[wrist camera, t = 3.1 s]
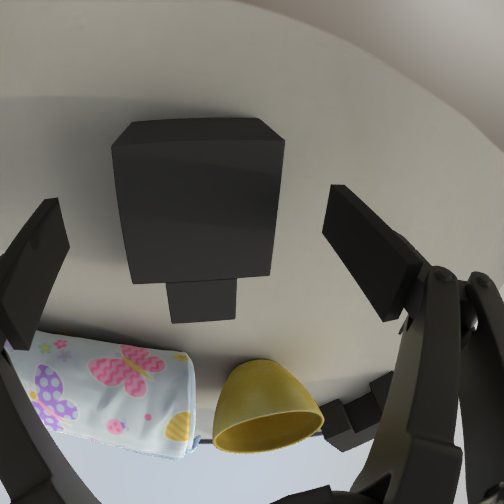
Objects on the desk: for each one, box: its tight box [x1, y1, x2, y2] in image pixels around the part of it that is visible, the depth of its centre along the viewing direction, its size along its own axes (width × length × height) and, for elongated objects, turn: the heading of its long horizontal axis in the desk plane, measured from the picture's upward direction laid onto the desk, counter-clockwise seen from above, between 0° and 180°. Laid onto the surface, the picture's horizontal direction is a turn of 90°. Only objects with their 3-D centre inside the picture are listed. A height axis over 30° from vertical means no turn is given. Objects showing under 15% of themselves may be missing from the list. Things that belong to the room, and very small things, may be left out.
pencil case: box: [4, 330, 201, 460], centre depth 20 cm, size 21×9×10 cm, turn 75°
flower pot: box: [213, 359, 324, 453], centre depth 27 cm, size 10×10×7 cm
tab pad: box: [111, 118, 285, 324], centre depth 16 cm, size 7×10×5 cm
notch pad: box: [319, 371, 394, 452], centre depth 39 cm, size 12×12×5 cm
